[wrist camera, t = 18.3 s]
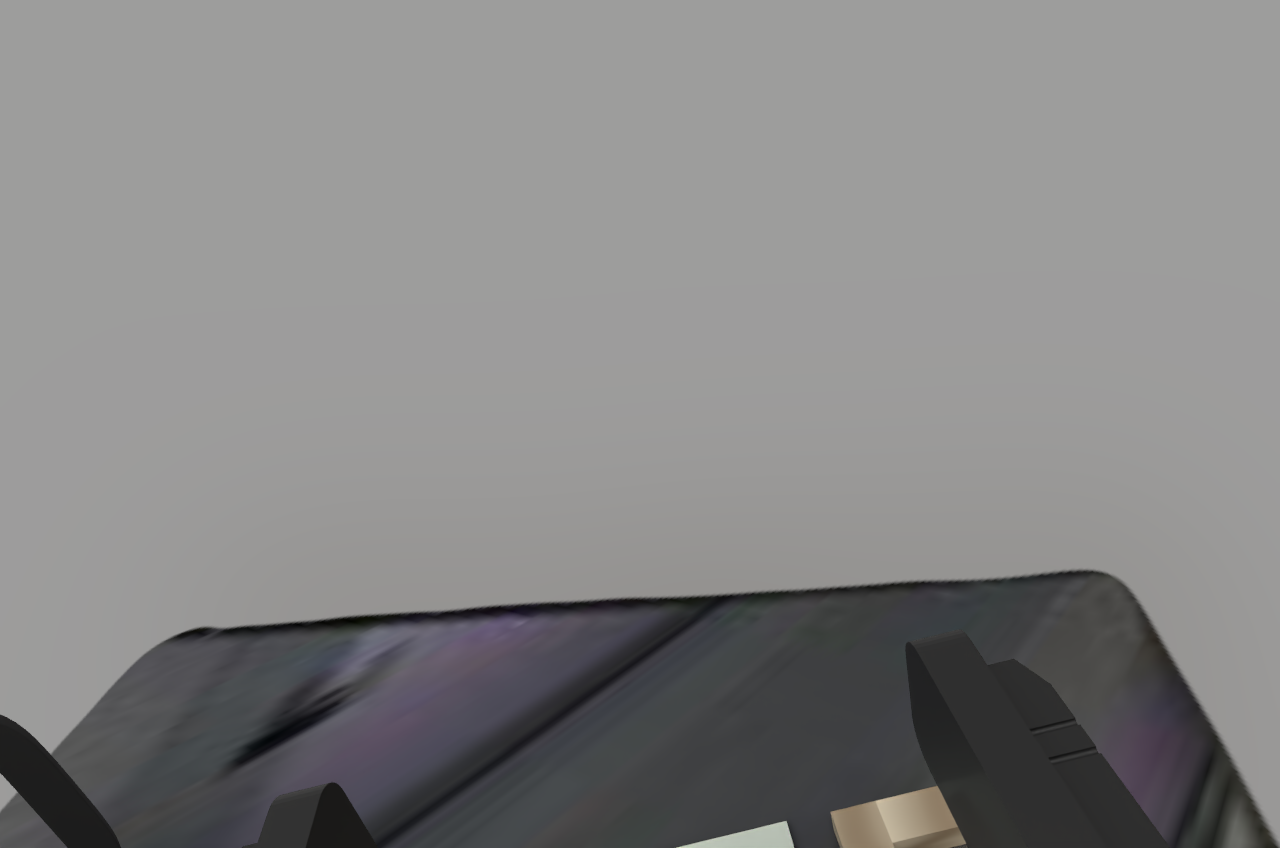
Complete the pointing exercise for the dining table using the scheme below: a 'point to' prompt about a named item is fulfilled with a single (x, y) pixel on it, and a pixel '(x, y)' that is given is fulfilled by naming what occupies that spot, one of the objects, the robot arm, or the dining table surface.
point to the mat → (752, 838)
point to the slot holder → (899, 823)
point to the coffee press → (51, 790)
